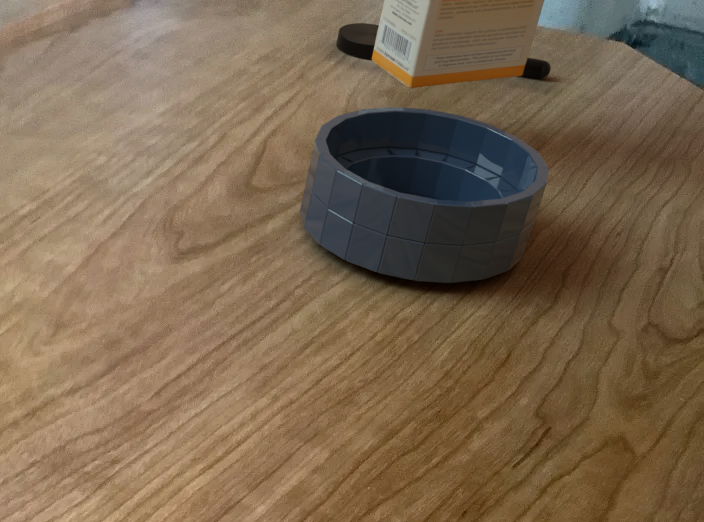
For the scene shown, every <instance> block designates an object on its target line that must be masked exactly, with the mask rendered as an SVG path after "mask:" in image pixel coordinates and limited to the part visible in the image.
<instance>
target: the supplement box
mask: <svg viewBox="0 0 704 522" xmlns="http://www.w3.org/2000/svg"><path fill="white" fill-rule="evenodd" d="M544 3H545V0H383V4H382V11H381V15H380V18H379V23H378V25H379V27H378V31H377V37H376V41H375V46H374V51H373V55H372V59H371V60H372V62H373V63H374V64H375V65H376V66H378V67H379V68H381V69H382V70H384V71H385V72H387V74H389V75H390V76H392V77H394V79H395V80H398V81H399V82H400V83H401V84H403V85H405V86H406V87H408V88H409V89H416V88H424V87H432V86H440V85H450V84H457V83H459V84H460V83H465V82H466V83H467V82H476V81H484V80H495V79H506V78H507V79H508V78H514V77H521V76H523V75H522V74H523V71H524V68H525V64H526V61H527V58H529V54H530V51H531V47H532V44H533V41H534V37H535V34H536V31H537V28H538V24H539V20H540V17H541V14H542V11H543V7H544Z"/></svg>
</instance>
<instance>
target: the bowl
mask: <svg viewBox="0 0 704 522" xmlns="http://www.w3.org/2000/svg"><path fill="white" fill-rule="evenodd" d="M549 170H550V169H549V167H548V165H547V164H546V162H545V160H544V158H543V157H542V154H541V153H540V152H538V151H537V150H536V149H534V147H532V146H531V145H529V144H528V143H527V142H526V141H524V140H523V139H521V138H520V137H518V136H517V135H514V134H512V133H509V132H508V131H505V130H503V129H501V128H499V127H498V126H495V125H493V124H489V123H486V122H484V121H480V120H477V119H474V118H471V117H467V116H464V115H460V114H455V113H450V112H445V111H440V110H433V109H426V108H414V107H398V106H397V107H396V106H395V107H394V106H388V107H375V108H374V107H373V108H363V109H358V110H354V111H351V112H350V111H349V112H347V113H346V112H345V113H342V114H339V115H336V116H335V117H333V118H331V119H330V120H328V121H327V122H325V123H324V124H322V125H320V128H319V130H318V132H317V134H316V136H315V138H314V142H313V147H312V151H311V156H310V162H309V166H308V171H307V176H306V180H305V184H304V190H303V195H302V198H301V199H302V200H301V204H300V209H299V215H300V218H301V223H302V225H303V228H304V230H305V231H306V232H307V233H308V235H309V236H311V238H312V239H313V240H314V241H315V242H316V243H317V244H318V245H319V246H321V247H322V248H323V249H325V250H326V251H328V252H330V253H332V254H333V255H335V256H337V257H339V258H340V259H342V260H343V261H346V262H348V263H350V264H353V265H356V266H358V267H361V268H364V269H366V270H368V271H369V270H370V271H371V272H375V273H377V274H380V275H381V274H382V275H385V276H389V277H391V278H397V279H403V280H408V281H414V282H424V283H425V282H428V283H443V284H453V283H454V284H455V283H464V282H465V283H466V282H473V281H483V280H487V279H489V278H492V277H494V276H497V275H501V274H502V273H506V272H508V271H510V270H511V269H512V268H513V267H514V266H515V265H516V264H517V263H518V262H519V261H520V260H522V259H523V257H524V254H525V251H526V248H527V245H528V242H529V239H530V236H531V233H532V230H533V227H534V223H535V221H536V217H537V215H538V211H539V208H540V205H541V202H542V199H543V196H544V193H545V190H546V188H547V184H548V177H549V172H550V171H549Z"/></svg>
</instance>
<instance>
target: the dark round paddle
mask: <svg viewBox="0 0 704 522" xmlns="http://www.w3.org/2000/svg"><path fill="white" fill-rule="evenodd" d="M378 27H379V24H374V23H366V22H365V23H364V22H357V23H348V24H344V25H342V26H341V27H339V29H338V33H337V38H336V43H335V45H336V47H337V48H338V50H339V51H341V52H343V53H344V54H347V55H349V56H353V57H355V58H359V59H366V60H372V55H373V51H374V46H375V41H376V37H377V31H378ZM551 69H552V67H551V64H550V62H549V61H547V60H545V59H539V58H534V57H533V58H532V57H528V58H527V61H526V64H525V68H524V71H523V74H522V76H524V77H530V78H535V79H545V78H547V77H548V76H549V75H550V73H551Z"/></svg>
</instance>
